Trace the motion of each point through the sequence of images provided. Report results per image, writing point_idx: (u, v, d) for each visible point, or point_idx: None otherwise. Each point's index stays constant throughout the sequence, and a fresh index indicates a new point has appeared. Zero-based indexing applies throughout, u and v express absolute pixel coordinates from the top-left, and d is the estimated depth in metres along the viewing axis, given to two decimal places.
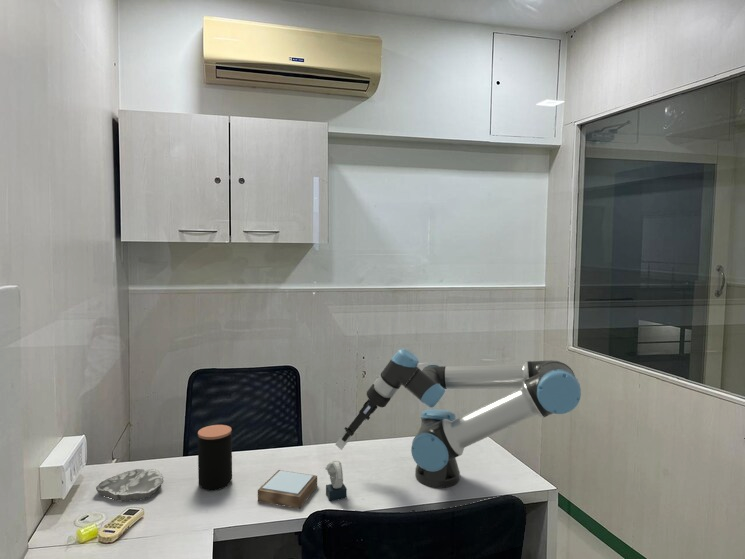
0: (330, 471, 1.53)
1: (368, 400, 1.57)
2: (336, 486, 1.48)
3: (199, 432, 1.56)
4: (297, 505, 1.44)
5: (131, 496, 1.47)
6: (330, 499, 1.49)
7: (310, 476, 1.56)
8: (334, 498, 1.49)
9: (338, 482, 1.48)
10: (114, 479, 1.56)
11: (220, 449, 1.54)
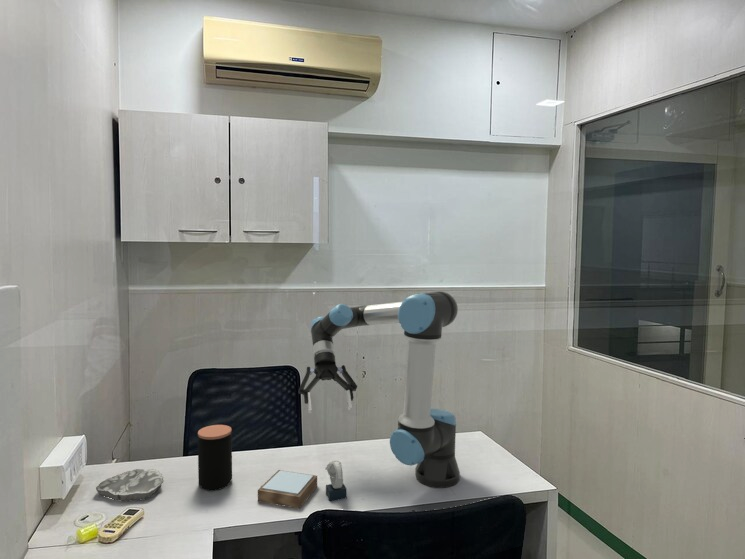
0: (330, 471, 1.53)
1: None
2: (336, 486, 1.48)
3: (199, 432, 1.56)
4: (297, 505, 1.44)
5: (131, 496, 1.47)
6: (330, 499, 1.49)
7: (310, 476, 1.56)
8: (334, 498, 1.49)
9: (338, 482, 1.48)
10: (114, 479, 1.56)
11: (220, 449, 1.54)
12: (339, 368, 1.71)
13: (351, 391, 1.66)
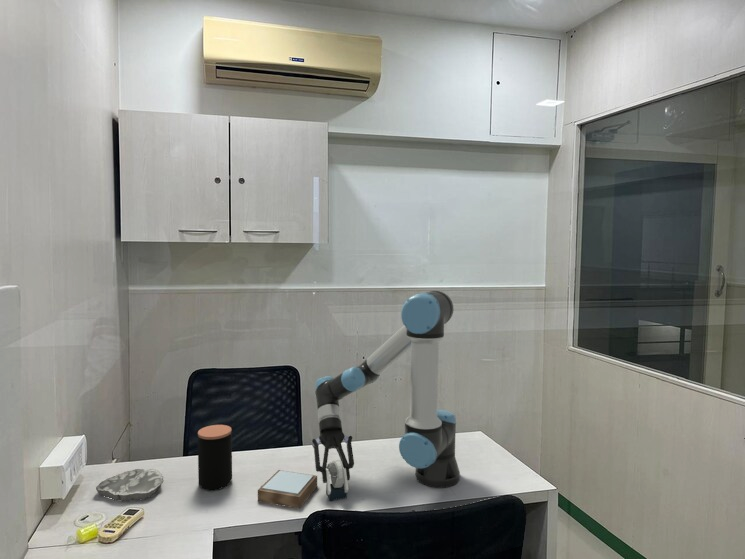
0: (331, 470, 1.53)
1: None
2: (337, 485, 1.49)
3: (199, 432, 1.56)
4: (297, 505, 1.44)
5: (131, 496, 1.47)
6: (330, 498, 1.49)
7: (310, 476, 1.56)
8: (334, 497, 1.49)
9: (339, 481, 1.48)
10: (114, 479, 1.56)
11: (220, 449, 1.54)
12: (346, 437, 1.59)
13: (347, 469, 1.52)
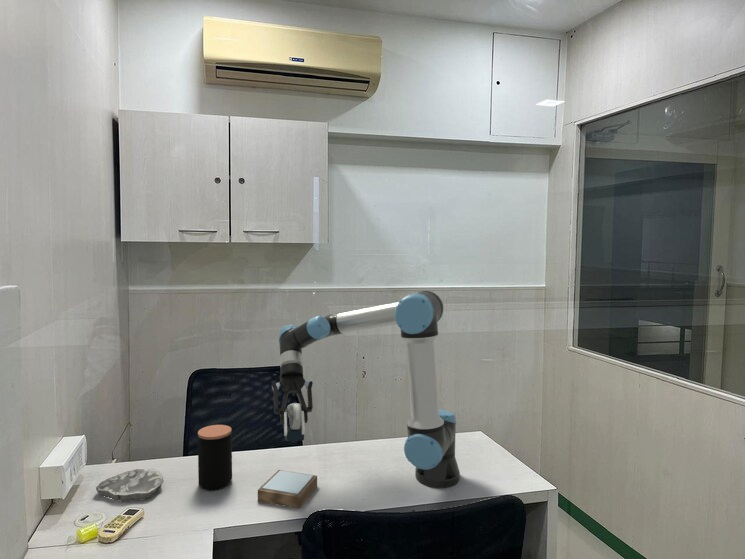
0: (289, 413, 1.53)
1: None
2: (294, 427, 1.49)
3: (199, 432, 1.56)
4: (297, 505, 1.44)
5: (131, 496, 1.47)
6: (287, 439, 1.49)
7: (310, 476, 1.56)
8: (291, 439, 1.50)
9: (296, 423, 1.48)
10: (114, 479, 1.56)
11: (220, 449, 1.54)
12: (306, 383, 1.60)
13: (306, 412, 1.52)
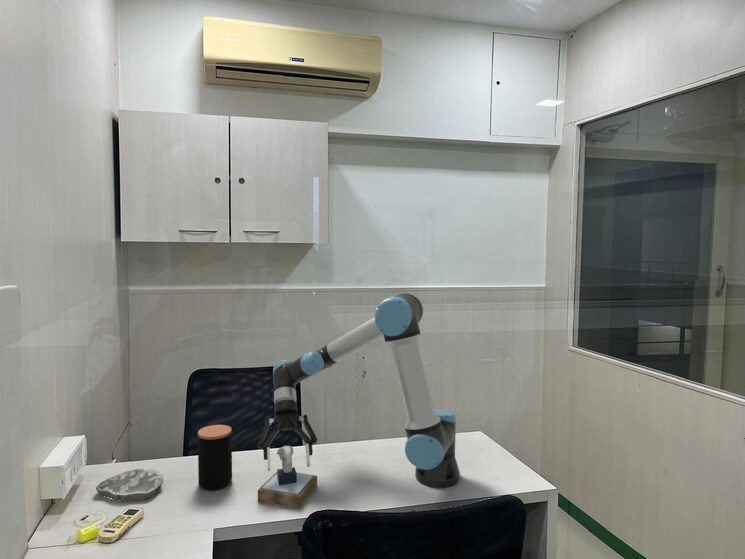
0: (281, 456, 1.54)
1: None
2: (285, 470, 1.50)
3: (199, 432, 1.56)
4: (297, 505, 1.44)
5: (131, 496, 1.47)
6: (280, 483, 1.50)
7: (310, 476, 1.56)
8: (284, 482, 1.51)
9: (287, 467, 1.49)
10: (114, 479, 1.56)
11: (220, 449, 1.54)
12: (301, 417, 1.61)
13: (310, 445, 1.55)
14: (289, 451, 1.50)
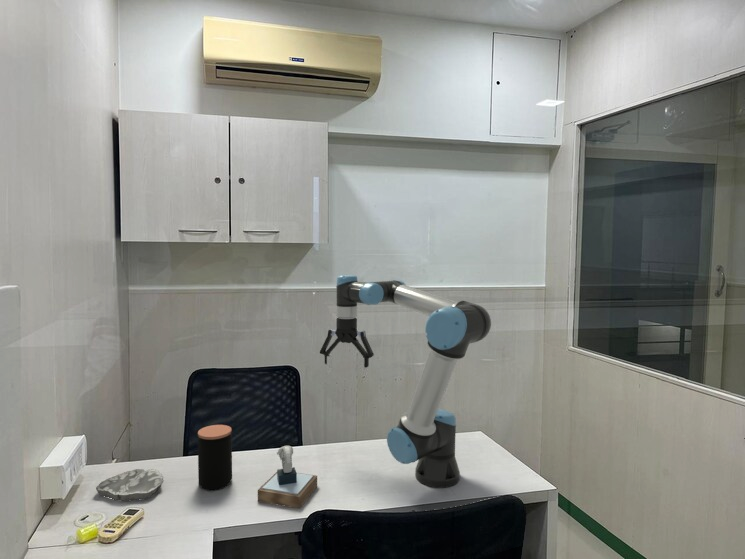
0: (281, 456, 1.54)
1: None
2: (285, 470, 1.50)
3: (199, 432, 1.56)
4: (297, 505, 1.44)
5: (131, 496, 1.47)
6: (280, 483, 1.50)
7: (310, 476, 1.56)
8: (284, 482, 1.51)
9: (287, 466, 1.49)
10: (114, 479, 1.56)
11: (220, 449, 1.54)
12: (358, 333, 1.74)
13: (366, 359, 1.74)
14: (289, 451, 1.51)
